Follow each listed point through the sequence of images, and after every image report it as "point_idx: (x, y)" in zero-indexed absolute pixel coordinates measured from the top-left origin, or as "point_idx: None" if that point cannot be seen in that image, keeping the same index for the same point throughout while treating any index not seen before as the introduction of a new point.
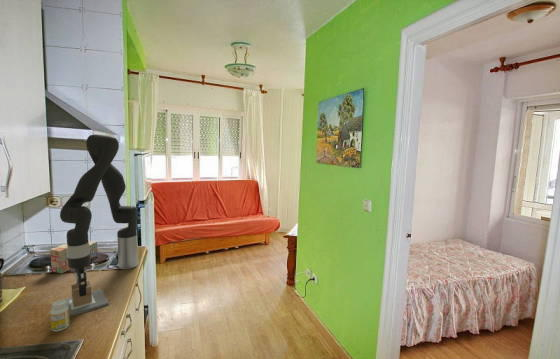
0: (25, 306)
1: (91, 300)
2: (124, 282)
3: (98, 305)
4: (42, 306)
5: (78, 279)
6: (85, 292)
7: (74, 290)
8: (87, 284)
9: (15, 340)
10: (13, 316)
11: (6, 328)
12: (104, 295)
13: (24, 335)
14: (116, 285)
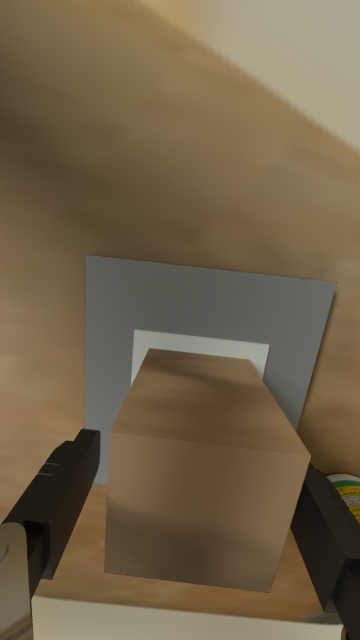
0: None
1: (251, 367)
2: (56, 47)
3: (319, 340)
4: None
5: (54, 559)
6: (317, 479)
7: (266, 584)
8: (220, 470)
9: (288, 601)
10: (94, 584)
11: (175, 607)
12: (212, 269)
13: (279, 582)
14: (72, 132)
